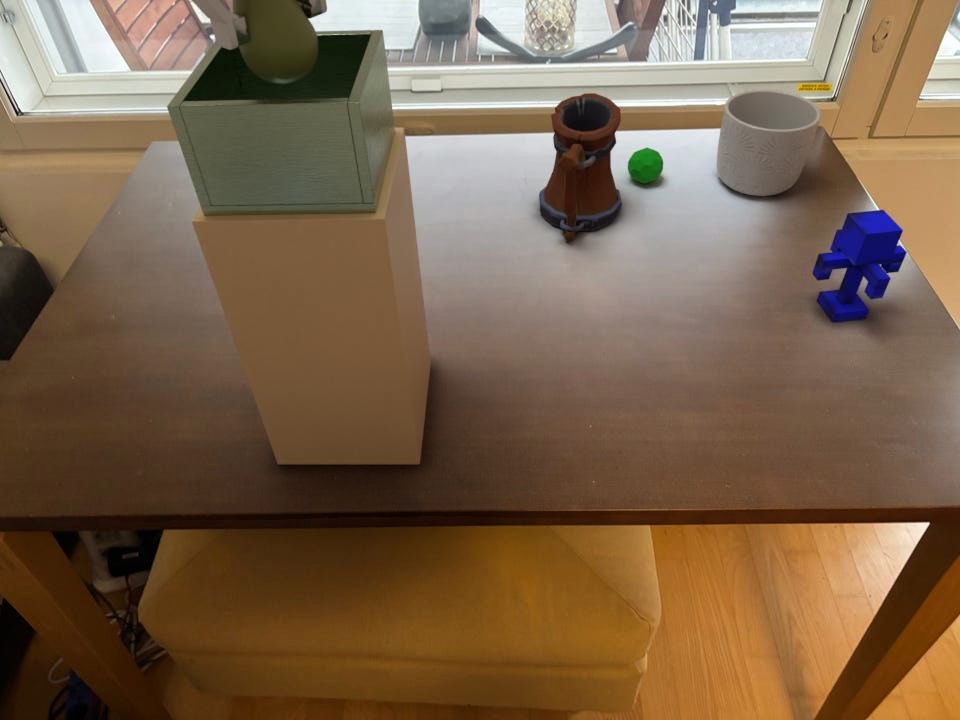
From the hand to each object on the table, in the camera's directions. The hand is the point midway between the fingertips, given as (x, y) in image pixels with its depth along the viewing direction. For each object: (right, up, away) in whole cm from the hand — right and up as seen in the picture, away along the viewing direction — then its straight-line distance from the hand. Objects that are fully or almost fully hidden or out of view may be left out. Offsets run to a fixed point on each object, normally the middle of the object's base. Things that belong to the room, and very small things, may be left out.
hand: (275, 29), depth 51 cm
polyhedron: (+38, +4, +58) cm, 69 cm away
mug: (+27, -4, +51) cm, 58 cm away
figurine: (+56, -17, +36) cm, 69 cm away
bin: (+1, -28, +27) cm, 39 cm away
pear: (0, -3, +3) cm, 4 cm away
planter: (+54, +3, +57) cm, 78 cm away
